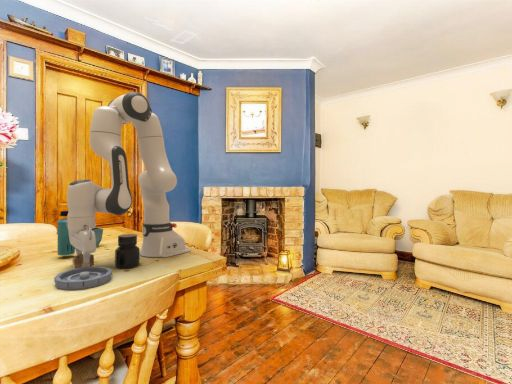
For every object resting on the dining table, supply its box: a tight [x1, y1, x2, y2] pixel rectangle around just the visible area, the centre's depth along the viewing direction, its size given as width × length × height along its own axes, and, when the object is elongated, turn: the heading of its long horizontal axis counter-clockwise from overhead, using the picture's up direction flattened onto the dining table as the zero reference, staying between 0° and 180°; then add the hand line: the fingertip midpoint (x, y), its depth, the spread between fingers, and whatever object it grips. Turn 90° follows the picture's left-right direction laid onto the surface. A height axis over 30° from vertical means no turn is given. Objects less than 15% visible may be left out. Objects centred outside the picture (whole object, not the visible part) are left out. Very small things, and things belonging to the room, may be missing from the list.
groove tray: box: [54, 265, 113, 291], centre depth 97 cm, size 16×16×3 cm
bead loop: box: [71, 253, 95, 269], centre depth 109 cm, size 6×6×4 cm
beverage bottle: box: [56, 210, 76, 257], centre depth 125 cm, size 6×7×20 cm
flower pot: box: [92, 227, 104, 247], centre depth 145 cm, size 9×9×9 cm
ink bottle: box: [114, 233, 141, 270], centre depth 115 cm, size 10×9×12 cm
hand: (82, 260), depth 109 cm, fingers closed on bead loop, 6 cm apart
